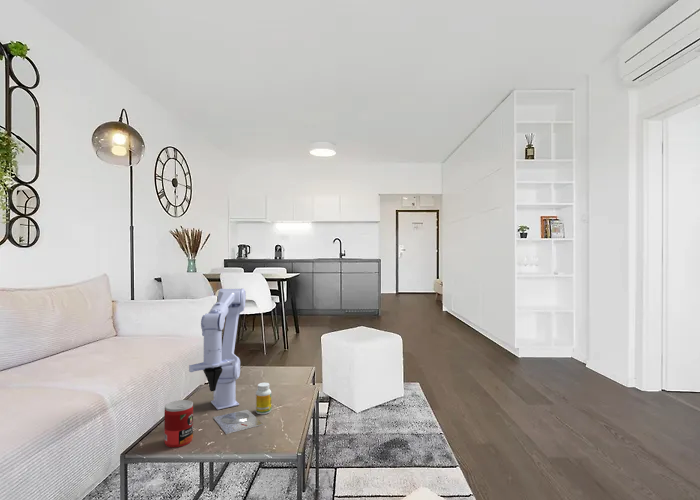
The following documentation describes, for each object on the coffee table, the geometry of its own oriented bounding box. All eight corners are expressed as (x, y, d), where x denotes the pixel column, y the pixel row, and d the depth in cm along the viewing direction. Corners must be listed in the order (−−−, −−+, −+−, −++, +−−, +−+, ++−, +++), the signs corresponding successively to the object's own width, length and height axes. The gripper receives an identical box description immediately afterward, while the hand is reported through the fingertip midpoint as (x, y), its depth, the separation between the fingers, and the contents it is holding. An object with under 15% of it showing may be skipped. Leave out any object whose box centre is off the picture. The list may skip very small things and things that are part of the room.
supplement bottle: (254, 410, 137) (254, 383, 137) (269, 407, 140) (269, 380, 140) (257, 416, 132) (257, 387, 132) (273, 413, 135) (272, 385, 135)
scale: (213, 417, 131) (213, 416, 131) (247, 410, 138) (247, 408, 138) (226, 434, 118) (225, 432, 119) (263, 424, 125) (263, 423, 125)
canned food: (183, 449, 109) (183, 410, 110) (158, 447, 111) (158, 408, 111) (198, 436, 117) (198, 400, 117) (174, 435, 118) (174, 399, 119)
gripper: (192, 354, 121) (192, 398, 121) (237, 348, 129) (237, 389, 129) (187, 350, 127) (187, 391, 127) (231, 344, 135) (231, 383, 135)
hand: (212, 390), depth 128 cm, fingers closed
